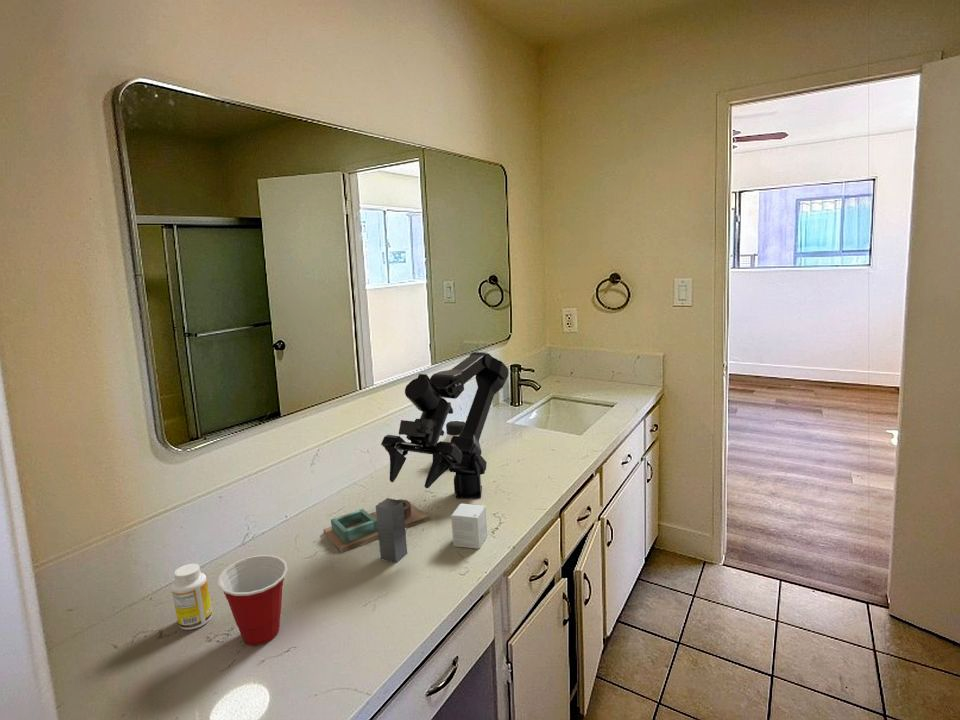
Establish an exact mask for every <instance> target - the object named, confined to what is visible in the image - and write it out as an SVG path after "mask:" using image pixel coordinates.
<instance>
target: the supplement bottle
mask: <svg viewBox="0 0 960 720" xmlns="http://www.w3.org/2000/svg"><path fill="white" fill-rule="evenodd" d="M207 578H208V577H207V576H206V574H205V573H203V572H201V568H200V565H199V564H198V563H188V564H185V565H182V566H180V567H178V568H177V569H176V570H175V571H174V581H173V583H172V584H171V594H172V598H173V603H174V609H175V615H176V619H177V625H178V627H179V628H181V630H186V631H190V630H195V629H198V628H200V627H203V626H205V625H206V624H207V623H209V621H211V618H212V617H213V608H212V602H211V596H210V591H209V590H210V589H209V585H208V579H207Z"/></svg>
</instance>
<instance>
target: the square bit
mask: <svg viewBox="0 0 960 720" xmlns="http://www.w3.org/2000/svg"><path fill="white" fill-rule="evenodd" d="M375 512H376V516H377V526H378V536H379V539H378V544H379V553H380V554H379V555H380V560H382V559H383V561H387V562H389V563H395V564H397V563H398V562H400V560H402V559H403V558H404V557H405V556H406V555H407V554H408V546H407V545H408V544H407V533H406V529H405V520H404V509H403V501H400V500H399V499H394V498H390V497H387V498H385V499H384V500H382V501H381V502H379V503H378V504H377V505H375Z"/></svg>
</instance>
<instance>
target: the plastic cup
mask: <svg viewBox="0 0 960 720" xmlns="http://www.w3.org/2000/svg"><path fill="white" fill-rule="evenodd" d="M287 573H288V564H287V562H286V561H285V560H284V559H283V558H282V557H279V556H275V555H272V554H271V555H270V554H263V555H261V554H259V555H258V554H257V555H254V556H248V557H244V558H242V559H240V560H237V561H235V562H233V563H231V564H230V565H228V566H227V567H225V568H224V569H223V570H222V572H221V573H220V574H219V575H218V577H217V579H218V580H217V581H218V583H217V586H218V587H219V588H220V590H222V592H223V594H224V595H225V598H226V600H227V602H228V605H229V607H230V610H231V613H232V616H233V619H234V621H235V624H236V626H237V628H238V631H239V633H240V637H241V639H242V640H243V642H244V643H245V644H246V645H248V646H253V647H254V646H261V645H263V644H267V643H268V642H270V641H273V640H274V639H275V638H276V637H277V635H278V634H279V631H280V628H281V626H280V625H281V624H280V623H281V613H282V599H283V597H282V596H283V586H284V581H285V576H286V575H287Z"/></svg>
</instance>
